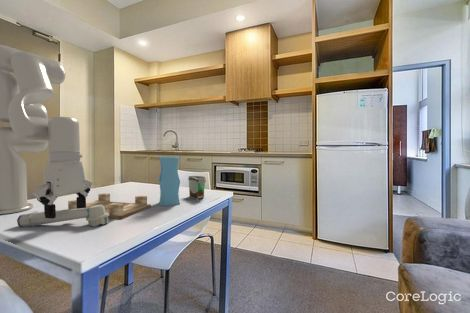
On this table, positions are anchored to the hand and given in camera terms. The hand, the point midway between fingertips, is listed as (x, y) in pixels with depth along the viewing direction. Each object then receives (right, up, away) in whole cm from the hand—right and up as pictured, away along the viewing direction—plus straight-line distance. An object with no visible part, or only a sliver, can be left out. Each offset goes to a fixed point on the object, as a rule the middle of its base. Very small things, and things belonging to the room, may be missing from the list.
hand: (67, 213), depth 68 cm
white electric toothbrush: (-1, -4, 0) cm, 4 cm away
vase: (+23, -3, +28) cm, 37 cm away
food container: (+34, -3, +40) cm, 53 cm away
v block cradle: (+4, -3, +17) cm, 17 cm away
